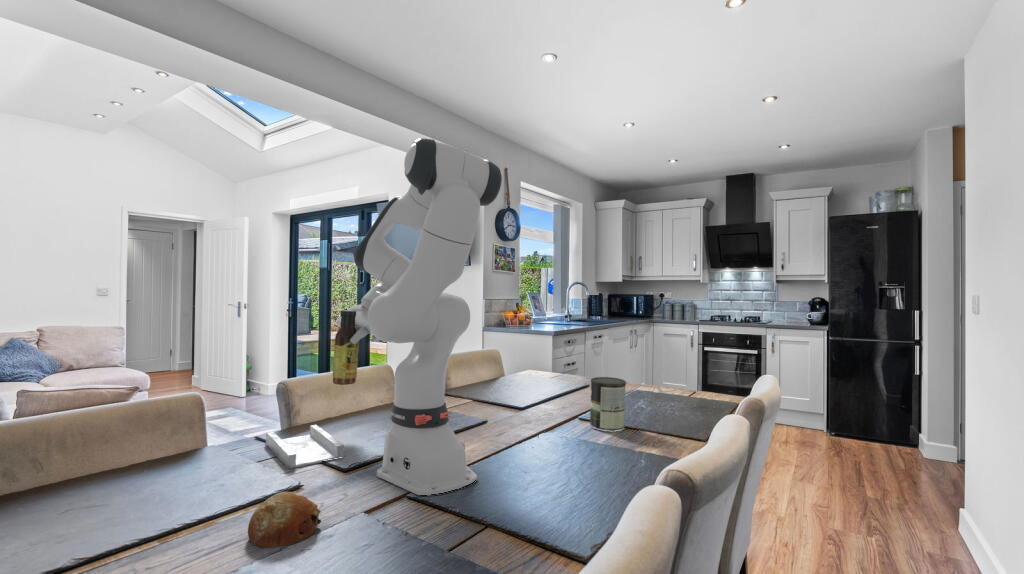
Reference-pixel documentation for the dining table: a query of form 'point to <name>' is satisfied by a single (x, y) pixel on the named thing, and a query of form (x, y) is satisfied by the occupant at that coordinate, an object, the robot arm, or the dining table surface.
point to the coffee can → (607, 403)
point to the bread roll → (283, 520)
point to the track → (305, 448)
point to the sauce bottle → (345, 351)
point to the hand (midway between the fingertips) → (344, 341)
